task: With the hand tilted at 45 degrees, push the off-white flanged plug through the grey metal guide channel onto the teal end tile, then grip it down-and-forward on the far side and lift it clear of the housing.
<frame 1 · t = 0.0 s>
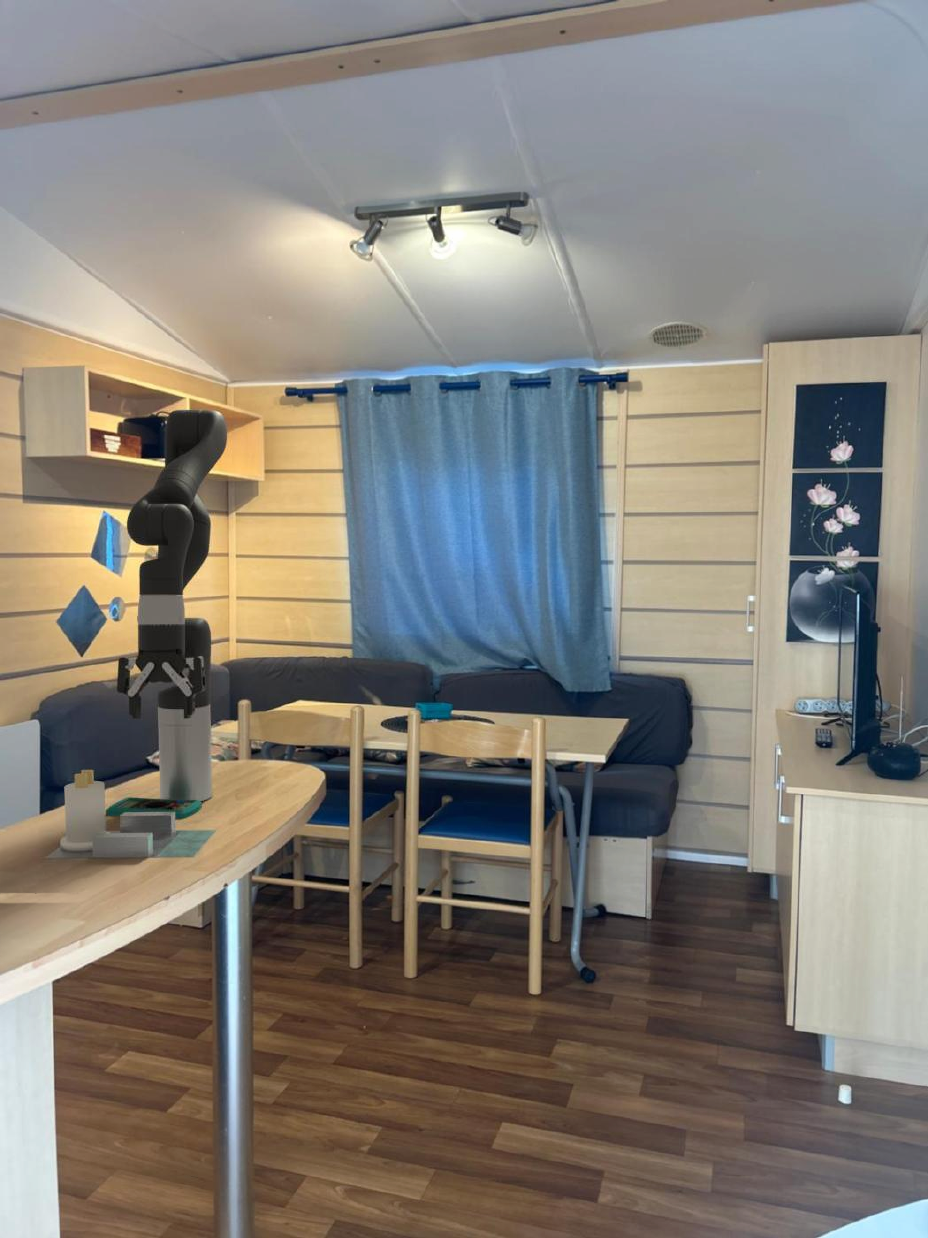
hand: (162, 718, 155), 17 cm above the table, tool pointing down, fingers open, 8 cm apart
plug: (86, 843, 139), point 1 cm above the table, touching housing
digital multimeter: (154, 820, 158), on the table
housing: (136, 850, 140), on the table
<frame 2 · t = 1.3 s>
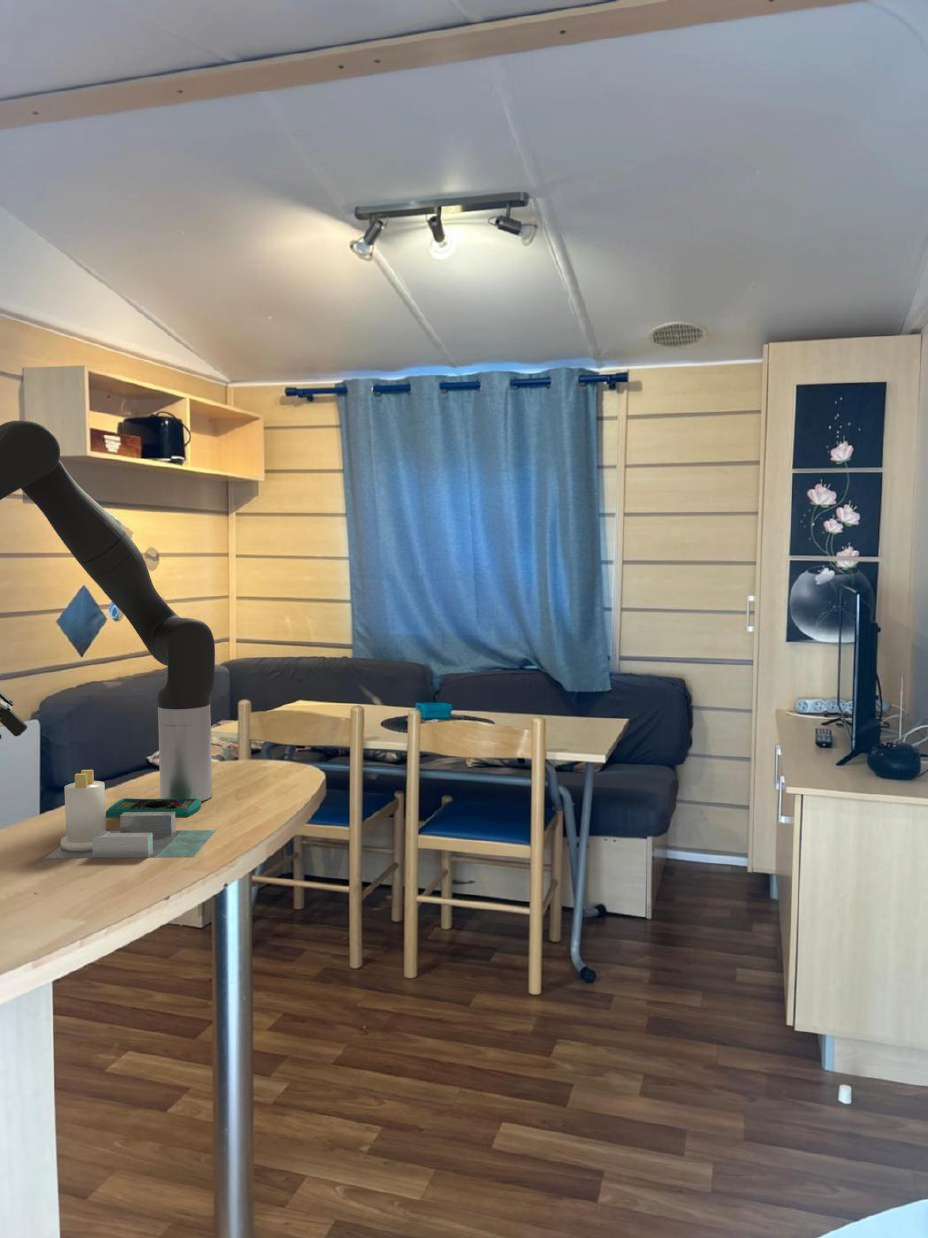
hand: (9, 737, 138), 18 cm above the table, tool tilted 45°, fingers open, 8 cm apart
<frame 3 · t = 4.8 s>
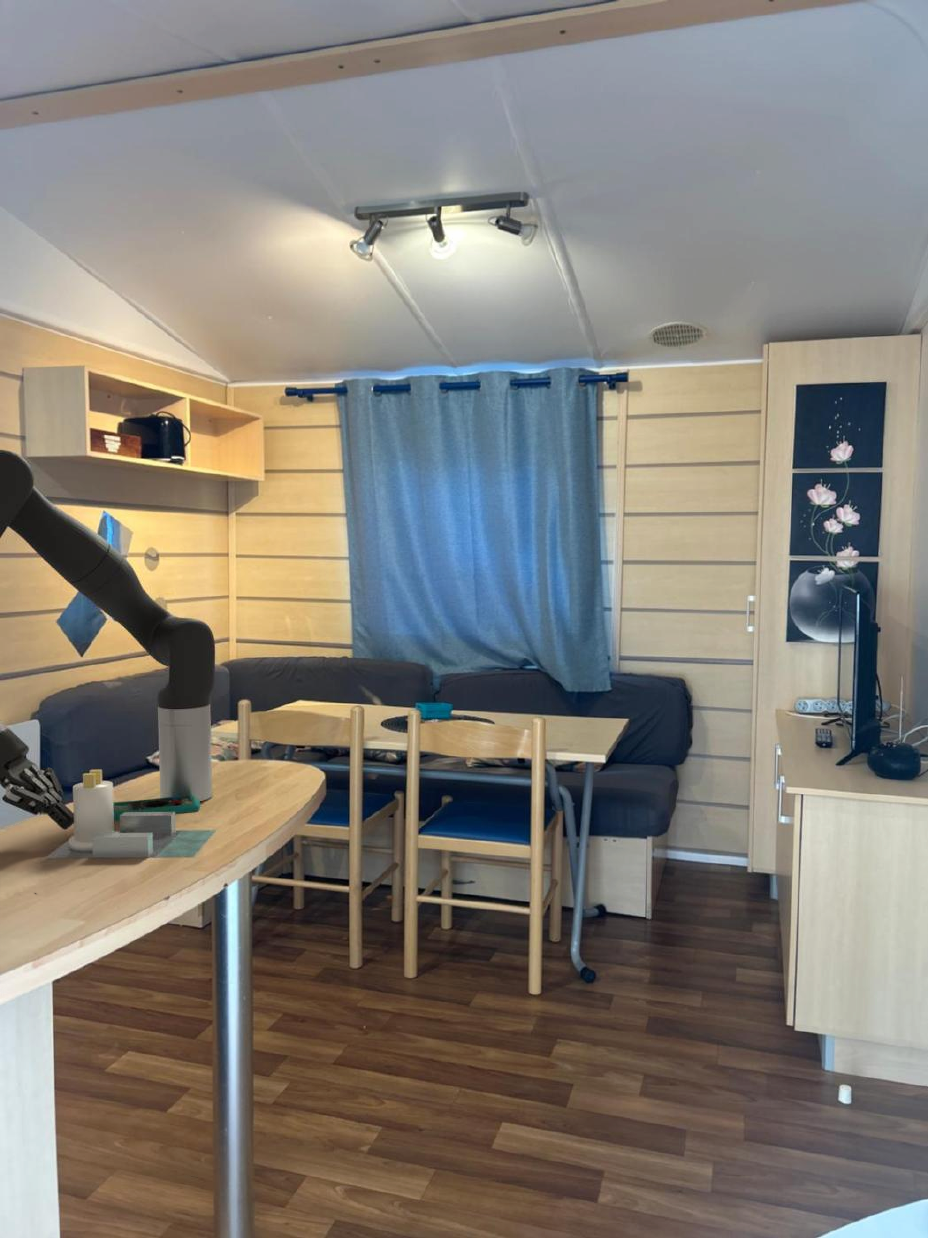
hand: (71, 824, 139), 4 cm above the table, tool tilted 45°, fingers closed
plug: (94, 843, 140), point 1 cm above the table, touching gripper, housing
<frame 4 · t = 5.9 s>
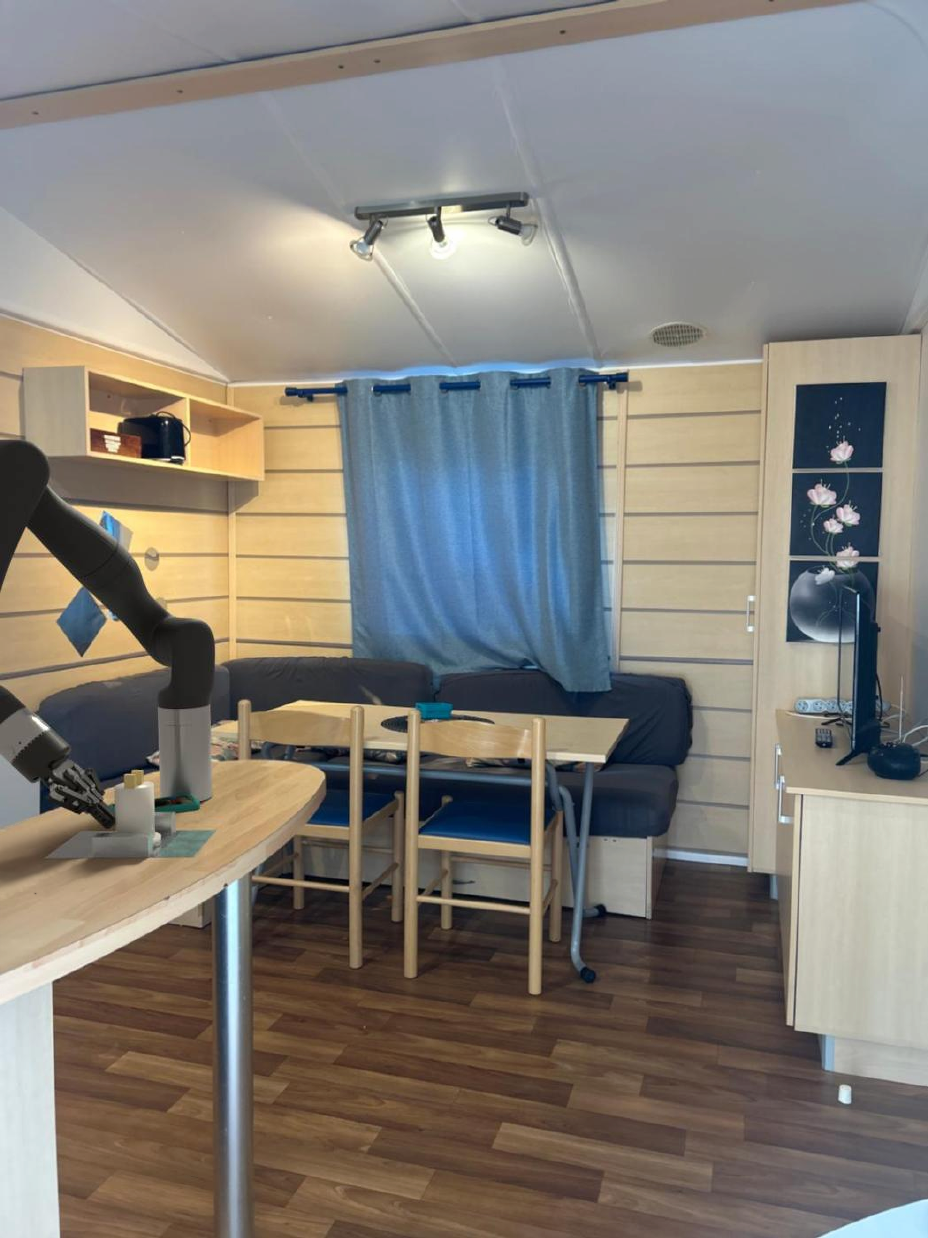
hand: (114, 824, 139), 4 cm above the table, tool tilted 45°, fingers closed
plug: (135, 844, 139), point 1 cm above the table, touching gripper
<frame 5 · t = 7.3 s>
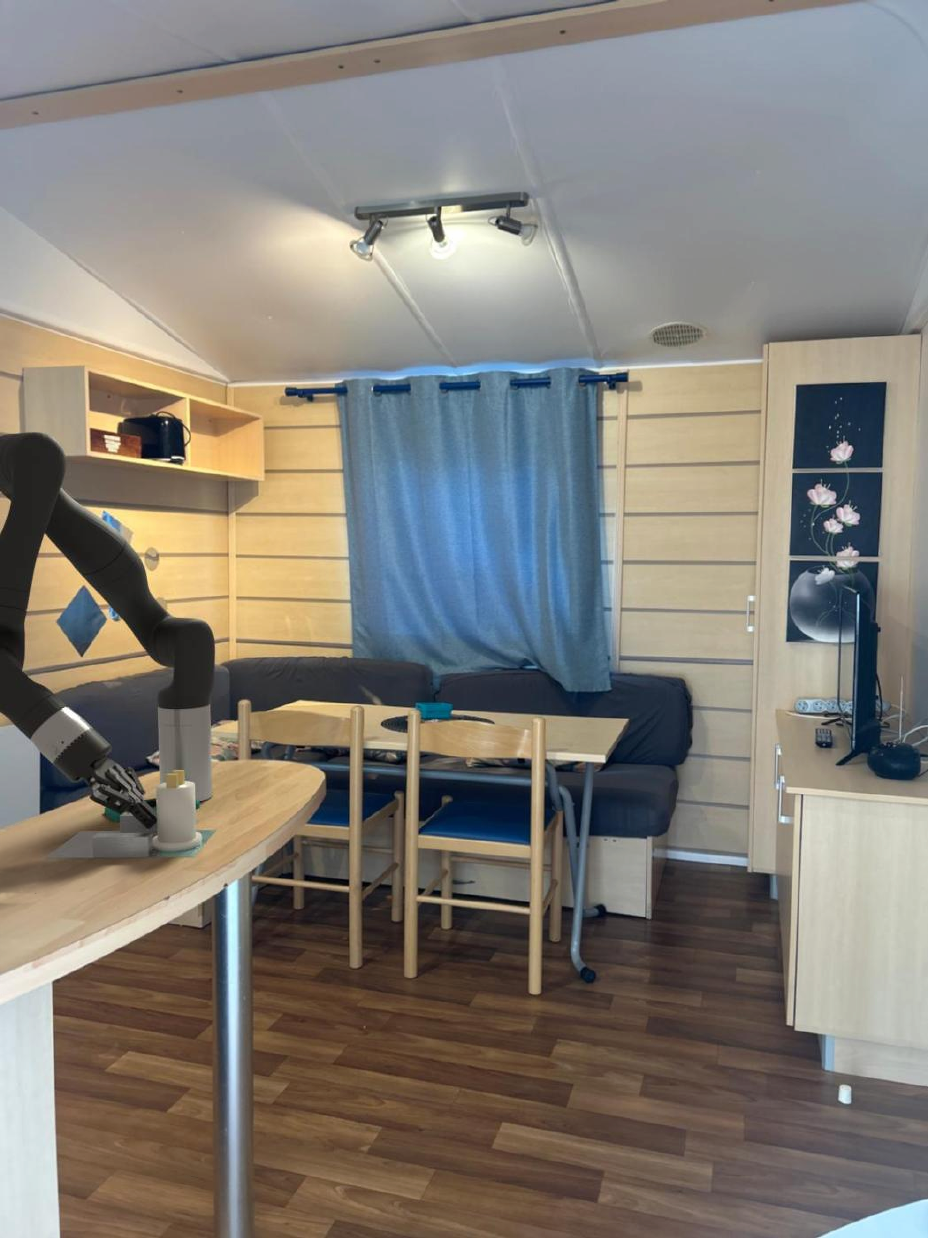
hand: (155, 823, 139), 4 cm above the table, tool tilted 45°, fingers closed
plug: (177, 844, 139), point 1 cm above the table
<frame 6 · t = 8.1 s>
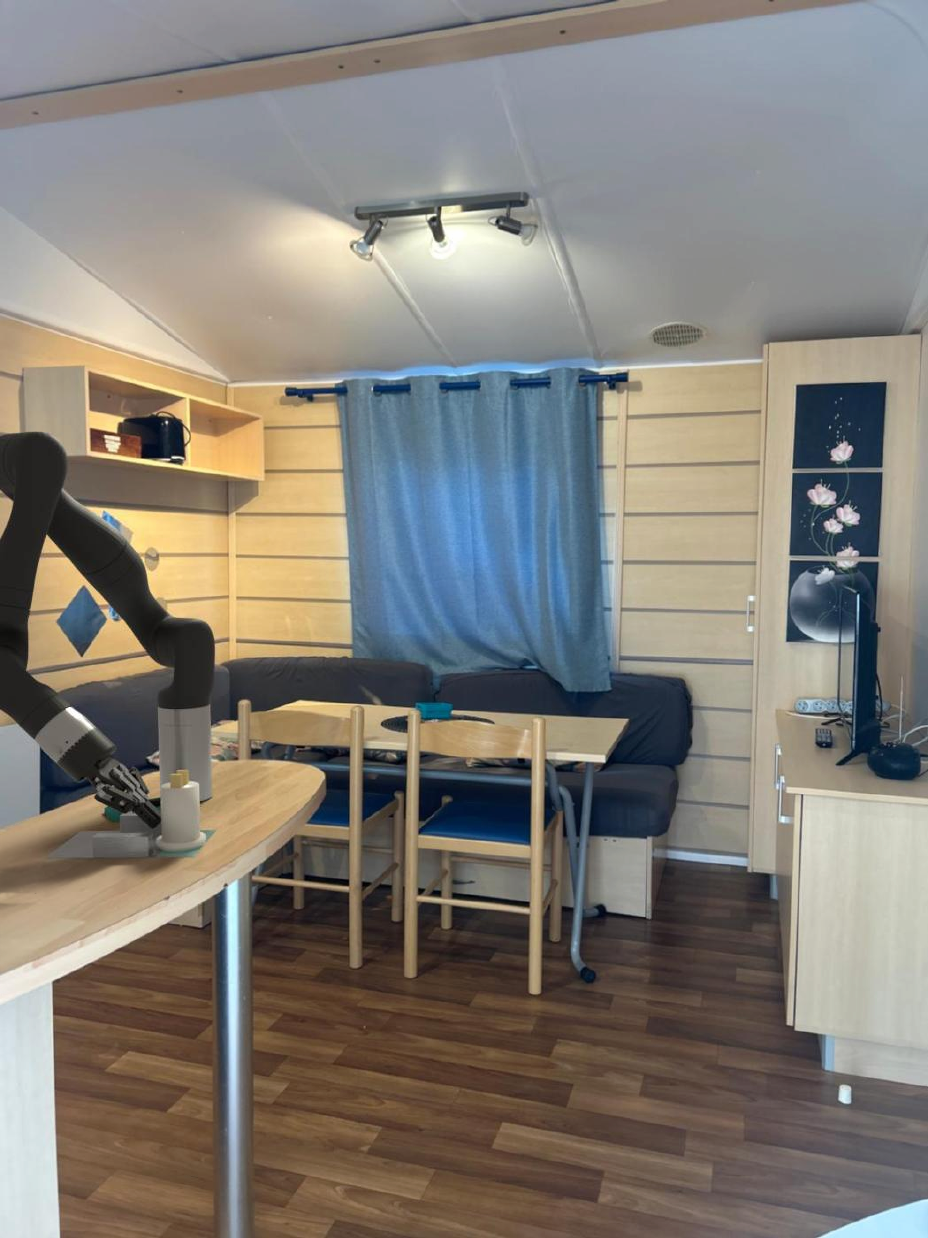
hand: (159, 823, 139), 4 cm above the table, tool tilted 45°, fingers closed
plug: (181, 844, 139), point 1 cm above the table, touching gripper, housing
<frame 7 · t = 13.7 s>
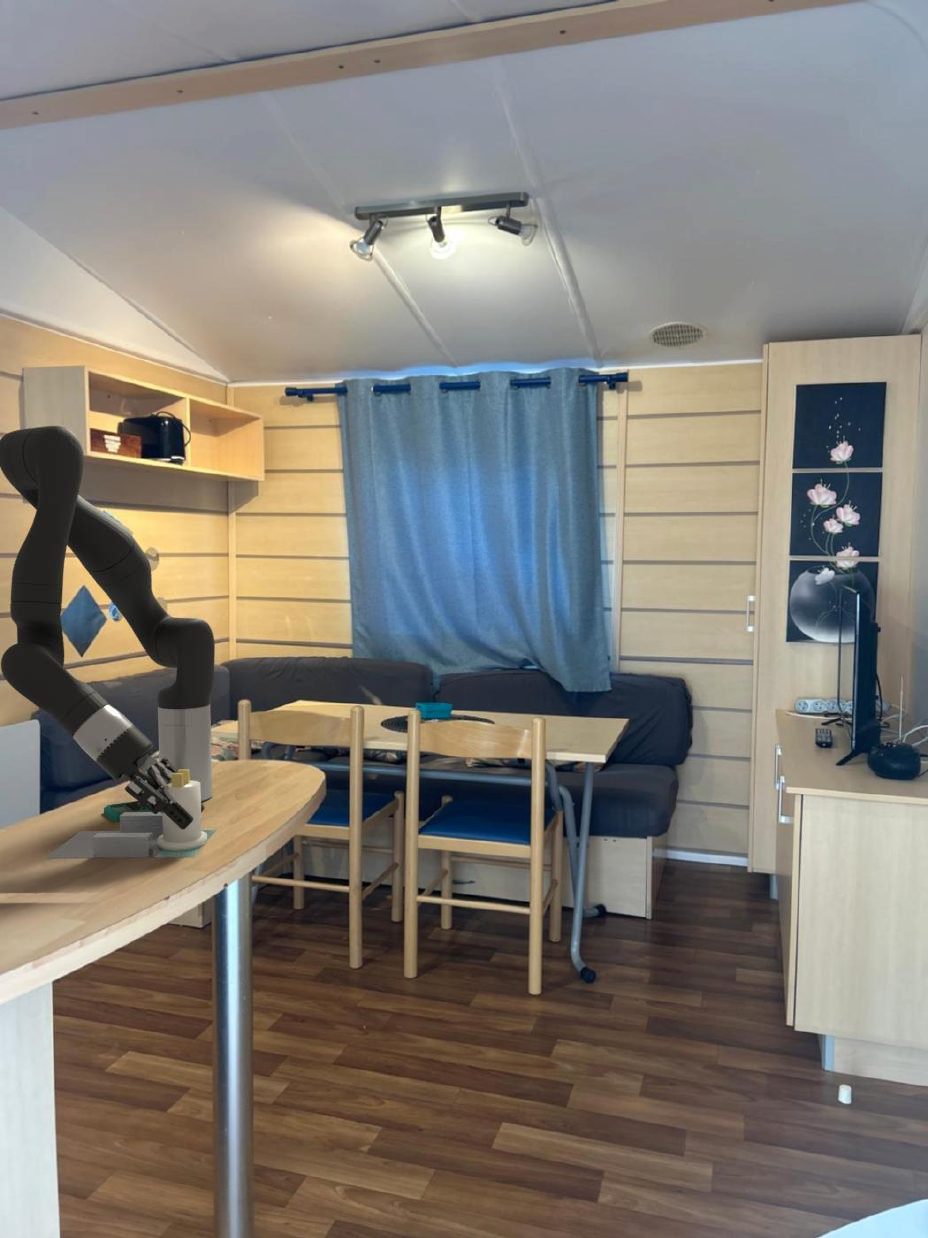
hand: (194, 818, 139), 5 cm above the table, tool tilted 45°, fingers closed on plug, 5 cm apart
plug: (182, 843, 140), point 1 cm above the table, touching gripper, housing
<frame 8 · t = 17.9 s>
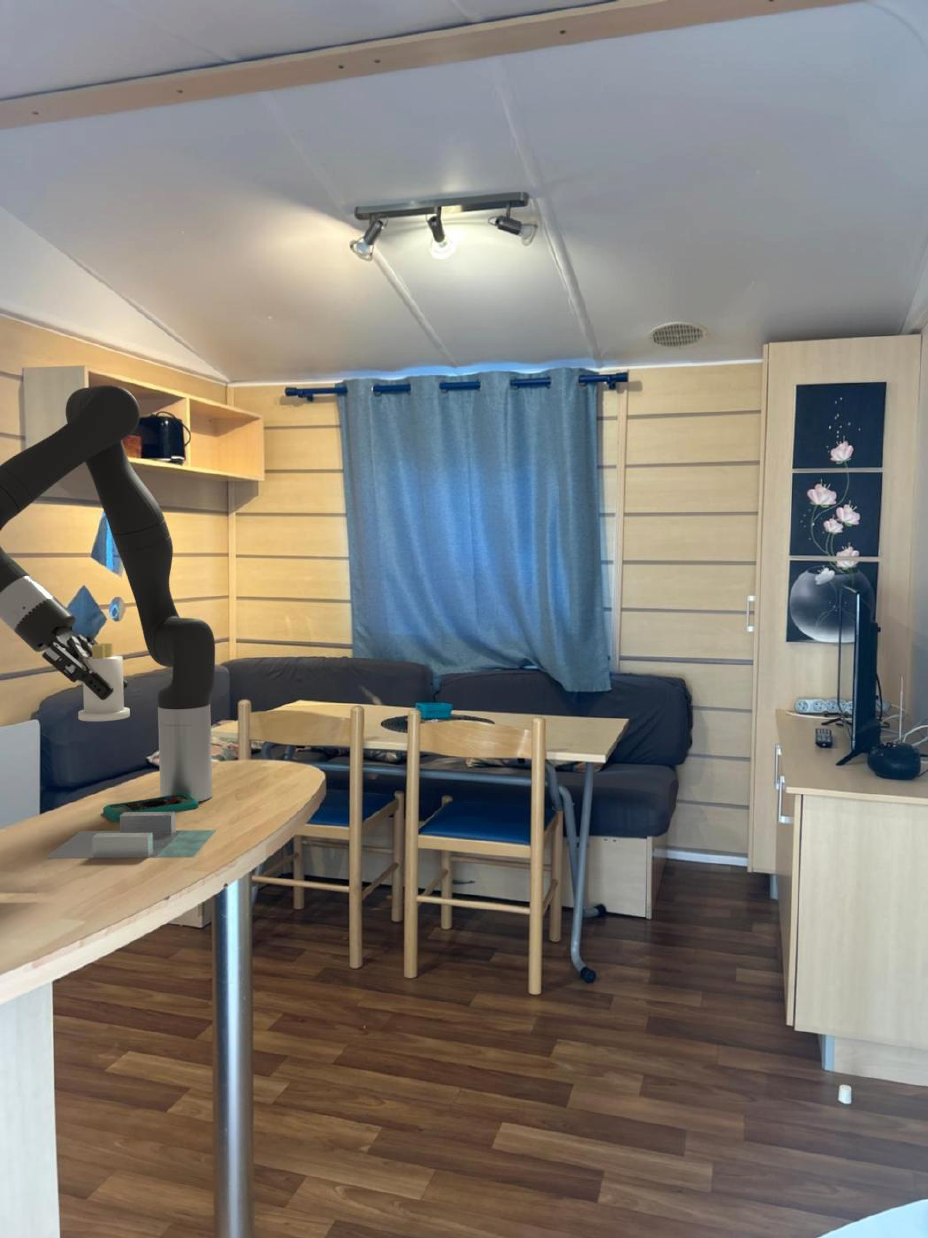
hand: (116, 692, 138), 24 cm above the table, tool tilted 45°, fingers closed on plug, 5 cm apart
plug: (104, 717, 138), point 20 cm above the table, touching gripper
at the end: the gripper is holding plug; plug point 20.4 cm above the table; plug inside the target area (1.6 cm from its centre), point 20.4 cm above the table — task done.
